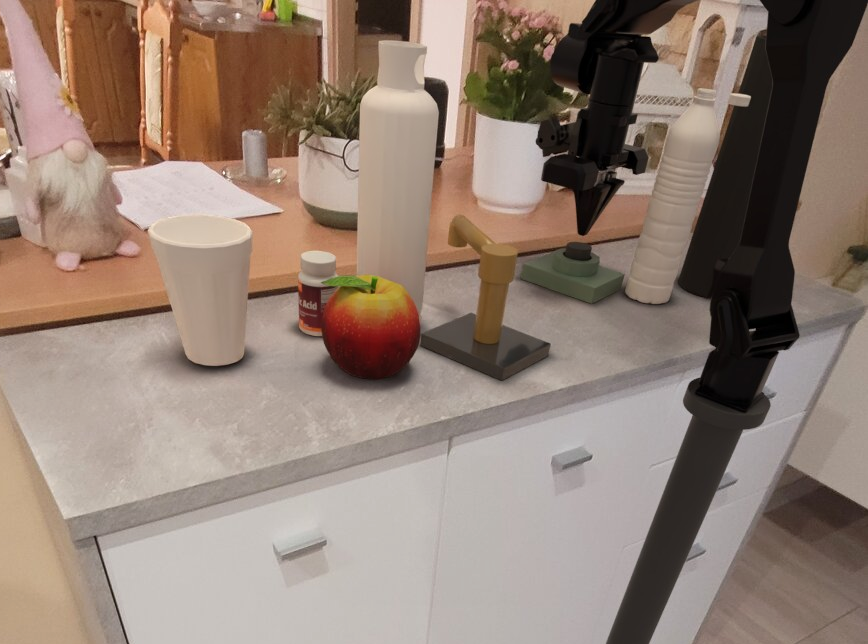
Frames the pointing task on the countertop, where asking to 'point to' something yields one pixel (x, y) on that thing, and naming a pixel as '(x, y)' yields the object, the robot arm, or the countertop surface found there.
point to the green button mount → (573, 276)
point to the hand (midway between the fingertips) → (581, 234)
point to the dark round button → (578, 251)
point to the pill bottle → (314, 289)
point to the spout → (484, 251)
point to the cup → (206, 282)
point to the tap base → (482, 353)
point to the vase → (730, 179)
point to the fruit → (370, 326)
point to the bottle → (396, 170)
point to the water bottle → (676, 198)
